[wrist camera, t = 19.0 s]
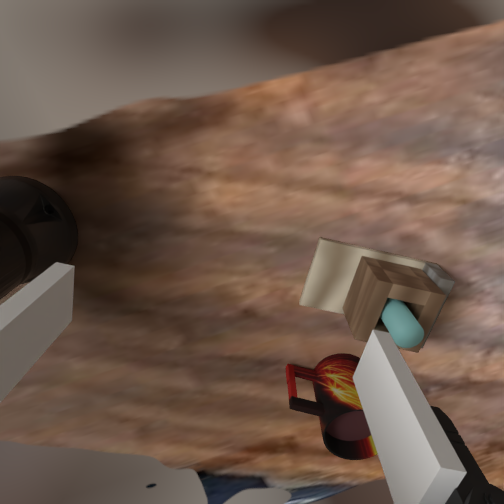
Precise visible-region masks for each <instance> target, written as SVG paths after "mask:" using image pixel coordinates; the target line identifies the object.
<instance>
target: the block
mask: <svg viewBox="0 0 504 504" xmlns="http://www.w3.org/2000/svg"><path fill="white" fill-rule="evenodd" d="M445 297H446V295H445V294H444V293H443V291H442V290H441V289H440V288H439V287H438V286H437V285H436V284H435V283H434V282H433V281H432V280H431V279H430V278H429V277H428V276H427V275H426V274H425V273H424V272H423V271H422V270H421V269H419V268H415V267H410V266H406V265H401V264H397V263H392V262H388V261H384V260H379V259H375V258H370V257H366V256H361V259H360V262H359V265H358V267H357V270H356V273H355V275H354V278H353V281H352V283H351V286H350V289H349V291H348V294H347V297H346V299H345V302H344V305H343V307H342V309H343V311H344V314H345V317H346V319H347V322H348V324H349V327H350V329H351V332H352V334H353V337H354V339H356V340H360V341H365V342H368V340H369V337H370V335H371V333H372V330H378V331H383V332H387V333H389V331H388V329H387V328H386V326H385V324H384V322H383V321H382V319H381V317H380V314H381V312H382V310H383V307H384V305H385V303H386V300H387V298H392V299H397V300H401V301H403V302H404V303H405V305H406V306H407V307H408V309H409V310H410V312H411V313H412V314H413V316H414V317H415V319H416V320H417V321H418V323H419V324H420V325H421V327H422V328H423V330H424V337H423V339H422V341H421V342H420V343H419V344H418V345H416V346H414V347H411V348H402V347H399V346H398V345H397V344H396V343H395V344H396V346H397V348H398V349H403V350H408V351H413V352H417V353H418V352H419V350H420V348H421V346H422V344H423V342H424V340H425V338H426V336H427V334H428V332H429V330H430V328H431V326H432V324H433V322H434V320H435V318H436V316H437V314H438V311H439V309H440V307H441V305H442V303H443V301H444V299H445ZM392 339H393V338H392Z"/></svg>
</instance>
